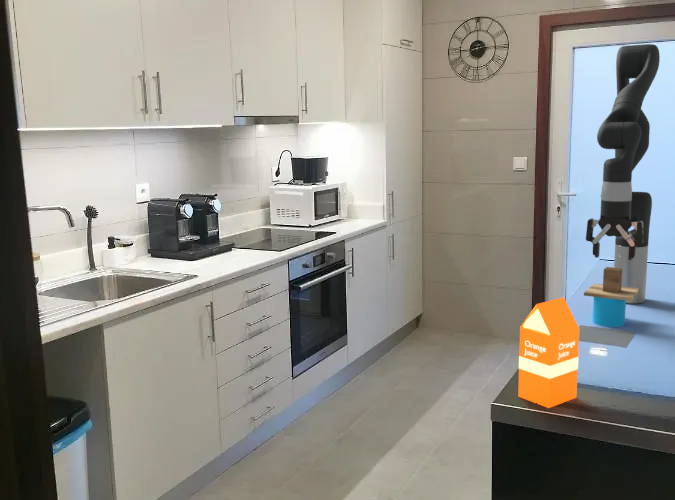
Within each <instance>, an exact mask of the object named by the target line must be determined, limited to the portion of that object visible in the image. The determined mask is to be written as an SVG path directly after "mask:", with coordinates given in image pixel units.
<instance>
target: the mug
mask: <svg viewBox="0 0 675 500" xmlns="http://www.w3.org/2000/svg"><path fill="white" fill-rule="evenodd" d="M592 304H593V306H592V324H594V325H598V326H601V327H610V328H616V327H623V326H625V324H626V322H625V321H626V304H627V303H626V300H620V299H611V298H601V297H593V303H592Z"/></svg>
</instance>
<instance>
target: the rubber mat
mask: <svg viewBox="0 0 675 500" xmlns="http://www.w3.org/2000/svg"><path fill="white" fill-rule="evenodd" d="M578 327H579V342H585V343H592V344H599V345H606V346H612V347H620V348H627V347H628V345H629V344H630V342H631V341H632V340H633V338H634V337H635V335H636V334H637V332H635V331H629V330H621V329H614V328H613V329H612V328H606V327H597V326H591V325H584V324H583V325H582V324H580V325H578Z"/></svg>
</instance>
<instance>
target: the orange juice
mask: <svg viewBox="0 0 675 500" xmlns="http://www.w3.org/2000/svg"><path fill="white" fill-rule="evenodd" d="M579 344H580V341H579V325H578V323H577V321H576V319H575V317H574V315H573V313H572V311H571V309H570V307H569V305H568V303H567V301H566V299H565V297H563V296H562V297H560V298H557V299H551V300H549V301H544V302H543V301H542V302H539V303H536V304H535V306H534V307H533V309H532V310H531V311H530V313H529V314H528V316H527V317H526V318H525V320H524V321H523V322H522V324H521V325H520V327H519V355H518V391H517V392H518V395H517V396H518V397H519V398H521V399H524V400H527V401H528V402H531V403H534V404H536V403H537V404H536V405H539V406H542V407H545V408H547V409H550V408H553V407H555V406H558V405H560V404H563V403H565V402H568V401H571V400H574V399H576V398H577V393H578V392H577V391H578V370H579V347H580V345H579Z"/></svg>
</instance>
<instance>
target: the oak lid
mask: <svg viewBox="0 0 675 500" xmlns="http://www.w3.org/2000/svg"><path fill="white" fill-rule="evenodd" d="M602 277H603V278H602V284H601V283H600V284H599V283H593V284H592V285H591V286H590V287H588V288H587V289H586V290H585V291H584V292H583V296H584V297H586V296H587V297H593V298H594V297H601V298H611V299H620V300H629V301H632V299H633V298H634V297H635V296H636V295H637V293H638V292H639V289H640V288H631V287H621V284H622V268H614V266H613V267H612V266H606V267H605V268H604V269H603V275H602Z"/></svg>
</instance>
